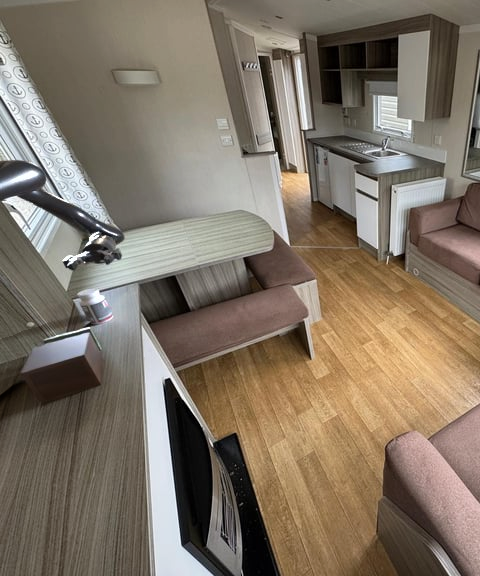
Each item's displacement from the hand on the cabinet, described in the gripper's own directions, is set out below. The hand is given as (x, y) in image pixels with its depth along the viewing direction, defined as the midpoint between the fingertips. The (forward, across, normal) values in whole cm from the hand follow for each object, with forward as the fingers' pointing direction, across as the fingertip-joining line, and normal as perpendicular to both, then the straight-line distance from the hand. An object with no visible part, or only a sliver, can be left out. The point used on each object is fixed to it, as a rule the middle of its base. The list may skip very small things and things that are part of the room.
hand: (89, 264), depth 96 cm
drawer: (+36, -1, +14) cm, 38 cm away
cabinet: (+42, 0, +14) cm, 45 cm away
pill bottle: (+11, 0, +15) cm, 19 cm away
